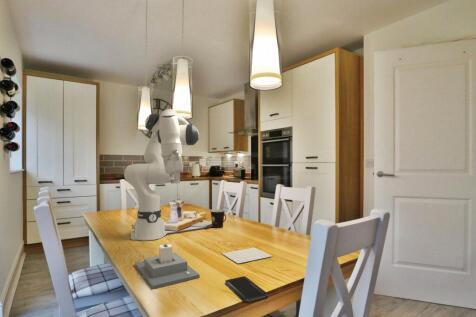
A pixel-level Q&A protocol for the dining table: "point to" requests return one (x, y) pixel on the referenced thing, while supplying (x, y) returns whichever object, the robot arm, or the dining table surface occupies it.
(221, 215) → the coffee mug
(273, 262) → the dining table surface
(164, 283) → the power dock
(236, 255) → the paper stack
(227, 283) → the phone
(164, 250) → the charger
